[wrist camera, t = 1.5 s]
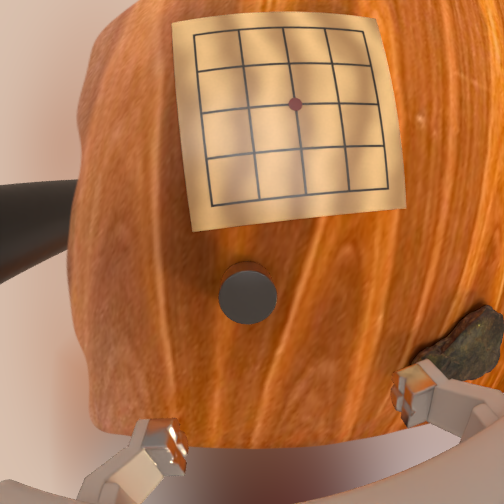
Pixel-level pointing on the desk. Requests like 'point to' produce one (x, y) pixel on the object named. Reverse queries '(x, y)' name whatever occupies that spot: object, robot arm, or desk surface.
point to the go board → (285, 118)
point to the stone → (468, 346)
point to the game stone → (247, 293)
